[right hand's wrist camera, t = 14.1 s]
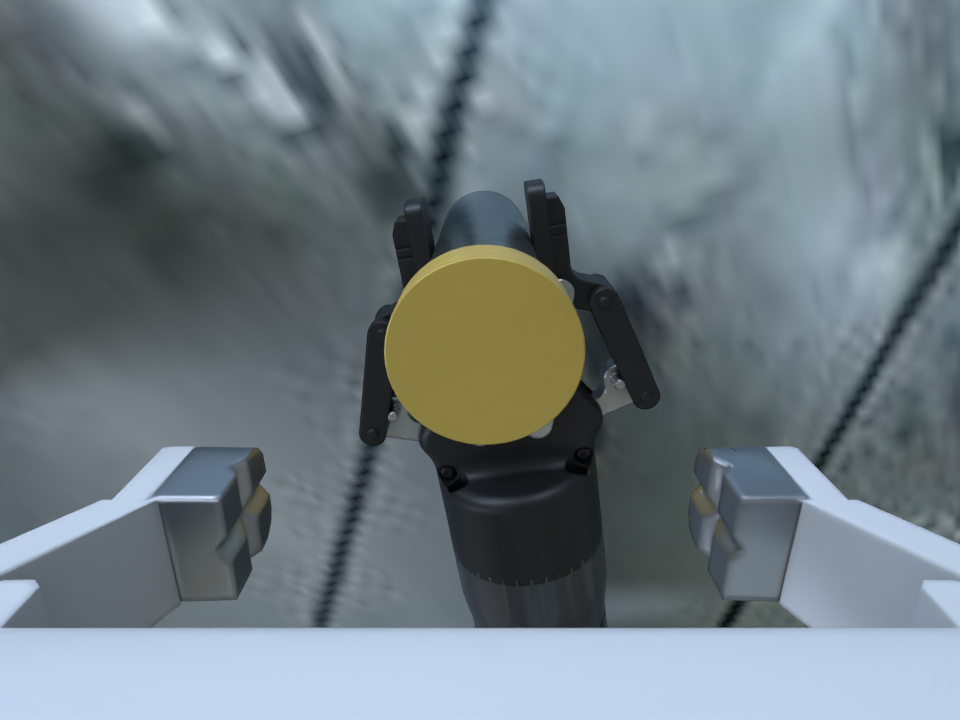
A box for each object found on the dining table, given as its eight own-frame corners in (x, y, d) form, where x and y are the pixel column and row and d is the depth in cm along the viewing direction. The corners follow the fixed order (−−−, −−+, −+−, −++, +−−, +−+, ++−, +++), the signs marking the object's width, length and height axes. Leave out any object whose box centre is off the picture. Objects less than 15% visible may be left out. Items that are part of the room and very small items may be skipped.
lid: (354, 330, 17) (341, 351, 15) (490, 202, 15) (491, 212, 14) (479, 449, 18) (478, 478, 17) (614, 341, 17) (626, 363, 15)
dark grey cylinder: (426, 230, 31) (370, 346, 16) (486, 172, 30) (490, 235, 15) (481, 288, 32) (480, 450, 17) (541, 235, 31) (599, 355, 16)
